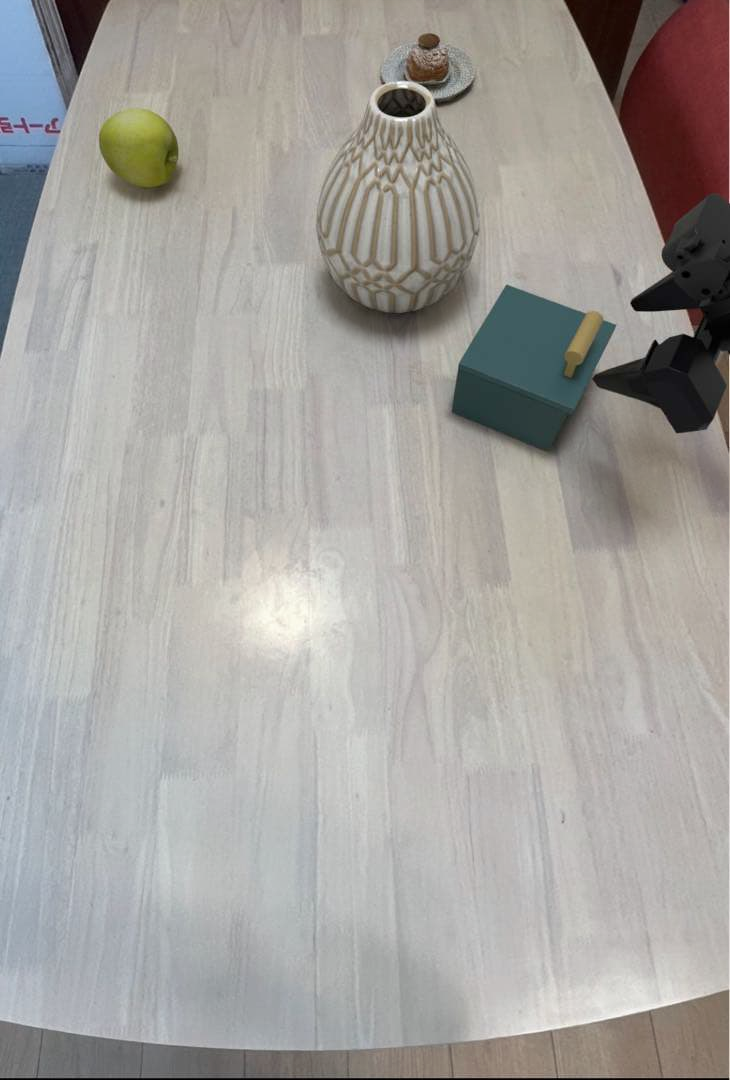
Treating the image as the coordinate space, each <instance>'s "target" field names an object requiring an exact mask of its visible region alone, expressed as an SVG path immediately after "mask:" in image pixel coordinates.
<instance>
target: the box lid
mask: <svg viewBox="0 0 730 1080" xmlns="http://www.w3.org/2000/svg"><path fill="white" fill-rule="evenodd" d="M497 297H498V298H497V299H496V300H495V303H494V304H493V306H492V307H491V309H490V311H488V314H487V315H486V317H485V318H484V321H483V322H482V324H481V325H480V327H479V328H478V331H477V332H476V334H475V335H474V337H473V338H472V340H471V343H470V344H469V345H468V347H467V349H466V351H465V352H464V354H463V355H462V357H461V359H460V360H459V362H458V367H457V370H458V369H460V370H462V371H465V372H467V373H470V374H472V375H475V376H477V377H480V378H482V379H485V380H487V381H490V382H492V383H495V384H497V385H499V386H502V387H504V388H507V389H509V390H512V391H514V392H517V393H519V394H522V395H524V396H527V397H529V398H532V399H534V400H537V401H539V402H542V403H544V404H547V405H549V406H552V407H554V408H557V409H559V410H562V411H564V412H567V413H568V414H570V415H573V414H574V412H575V411H576V408H577V406H578V404H579V402H580V400H581V399H582V396H583V394H584V392H585V390H586V389H587V386H588V384H589V382H590V380H591V378H592V376H593V375H594V372H595V370H596V368H597V366H598V364H599V362H600V360H601V358H602V356H603V355H604V353H605V350H606V349H607V346H608V344H609V342H610V341H611V338H612V336H613V334H614V332H615V330H616V327H617V324H616V323H612V322H609V321H607V320H605V319H604V316H603V314H601V313H600V312H599V311H596V310H590V311H588V312H583V311H580V310H577V309H575V308H572V307H569V306H566V305H563V304H561V303H559V302H555V301H553V300H550V299H547V298H544V297H542V296H540V295H537V294H534V293H531V292H529V291H525V290H523V289H520V288H518V287H515V286H512V285H510V284H505V285H504V287H503V289H502V291H501V293H500V294H499V296H497Z"/></svg>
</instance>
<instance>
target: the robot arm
mask: <svg viewBox="0 0 730 1080" xmlns="http://www.w3.org/2000/svg"><path fill="white" fill-rule="evenodd" d="M672 228H673V230H672V231H671V234H670V236H669V237H668V239H667V242H665V244H664V246H663V247H662V248H661V249H662V250H661V258H662V262H663V264H664V265H665V267H667V269H669V270H670V271H671V272H669V274H667V275H665V276H664V277H662V278H661V279H660V280H658V281H656V282H655V283H653V284H652V285H650V286H649V287H647V288H646V289H644V290H643V291H642V292H640V293H639V294H637V295H636V296H634V297H632V299H631V300H630V303H629V304H630V306H631V308H632V310H634V312H641V313H643V312H644V313H647V312H649V313H654V312H655V313H657V312H669V311H670V312H671V311H685V310H686V311H687V310H698V309H699V310H700V311H701V313H702V316H701V318H700V320H699V323H698V325H697V327H696V330H695V332H694V334H693V336H691V335H689V334H686V333H680V334H677V335H673V336H672V335H671V336H669V337H668V338H666V339H665V340H664V341H662V342H661V343H659V341H658V340H657V339H654V340H652V343H651V344H650V346H649V348H648V349H647V350H648V351H647V352H646V355H645V356H644V357H641V358H638V359H635V360H631V361H629V362H626V363H622V364H620V365H617V366H614V367H611V368H608V369H604V370H603V371H599V372H598V373H596V374H593V375H592V376H593V377H591V378H592V381H593V383H594V384H595V386H596V387H597V388H599V389H602V390H605V391H608V392H611V393H614V394H618V395H620V396H621V395H622V396H624V397H628V398H631V399H635V400H637V401H640V402H644V403H646V404H648V405H651V406H653V407H655V408H658V409H660V410H661V412H662V414H663V416H665V418H666V419H667V422H668V423H669V424H670V426H671V428H672V429H673V431H674V432H675V434H685V433H692V432H700V431H706V430H707V429H708V428H709V427H710V425H711V423H712V422H713V420H714V419H715V416H716V414H717V411H718V409H719V406H720V405H721V402H722V400H723V397H724V394H725V391H726V389H727V386H728V385H727V383H726V381H725V379H724V378H723V375H722V374H721V372H720V370H719V368H718V367H717V361H718V359H719V356H720V354H721V352H727V353H728V355H729V356H730V202H729V201H728V200H727V199H726V198H725V197H723V196H722V195H721V194H719V193H716V192H712V193H710V194H709V195H707V196H706V197H705V198H704V199H703V200H701V201H700V202H698V204H697V205H695V206H694V207H693V208H691V210H689V211H688V212H687V213H686V214H684V215H683V216H682V217H680V219H678V220H677V221H676V222H675V223H674V224H673V227H672Z"/></svg>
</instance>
